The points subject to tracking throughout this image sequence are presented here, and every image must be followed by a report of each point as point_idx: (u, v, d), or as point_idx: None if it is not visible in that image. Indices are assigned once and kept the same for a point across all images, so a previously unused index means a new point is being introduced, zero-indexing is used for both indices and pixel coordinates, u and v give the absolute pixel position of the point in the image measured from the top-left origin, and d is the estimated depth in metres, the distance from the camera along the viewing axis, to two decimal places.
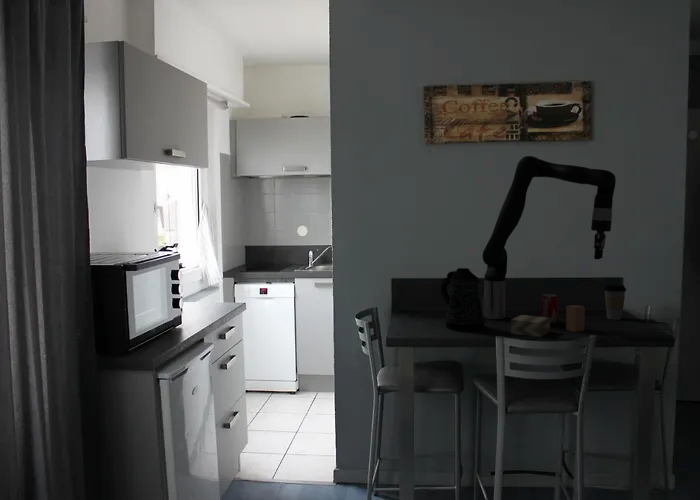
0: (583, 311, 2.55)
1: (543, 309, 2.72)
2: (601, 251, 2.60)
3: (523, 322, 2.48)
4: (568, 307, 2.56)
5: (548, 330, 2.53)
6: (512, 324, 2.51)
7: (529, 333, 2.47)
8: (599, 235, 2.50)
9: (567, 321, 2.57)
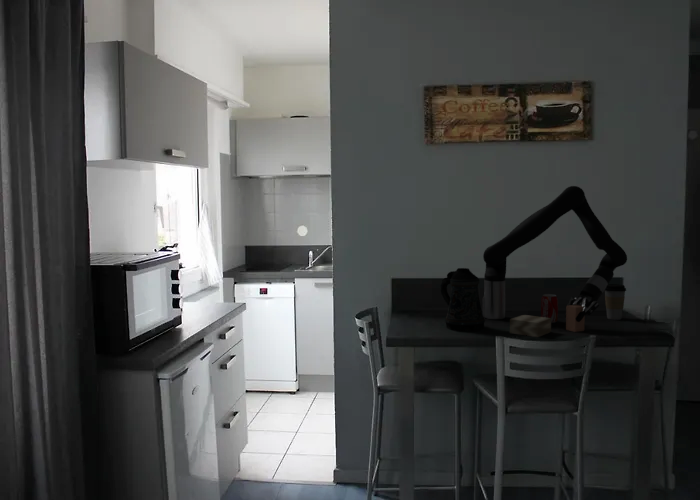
0: None
1: (543, 309, 2.72)
2: None
3: (521, 322, 2.49)
4: (568, 307, 2.56)
5: (549, 330, 2.52)
6: (511, 324, 2.52)
7: (527, 333, 2.48)
8: (597, 305, 2.52)
9: (567, 321, 2.57)
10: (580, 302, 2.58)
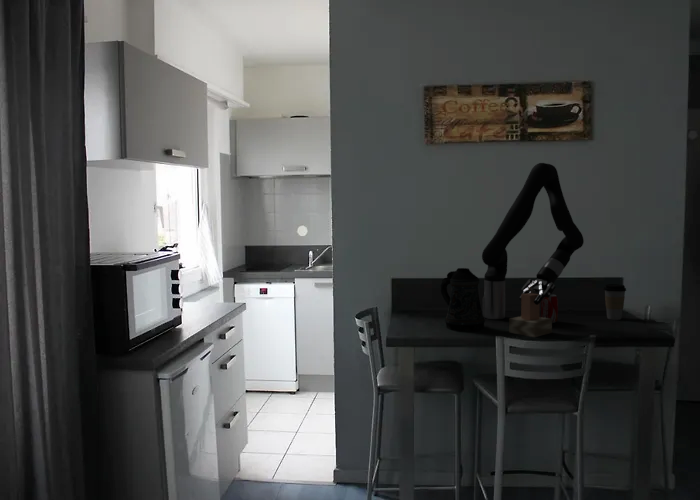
0: None
1: (543, 309, 2.72)
2: None
3: (520, 322, 2.50)
4: (523, 295, 2.52)
5: (549, 331, 2.51)
6: (510, 323, 2.53)
7: (525, 333, 2.48)
8: (554, 286, 2.48)
9: (522, 309, 2.53)
10: (534, 286, 2.54)
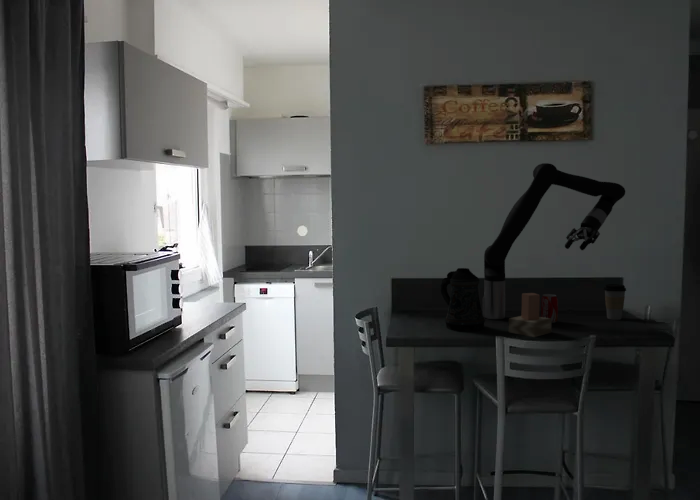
0: (538, 299, 2.51)
1: (543, 309, 2.72)
2: (571, 243, 2.72)
3: (519, 321, 2.50)
4: (523, 295, 2.53)
5: (548, 331, 2.52)
6: (510, 323, 2.53)
7: (524, 333, 2.49)
8: (598, 233, 2.64)
9: (522, 309, 2.54)
10: (579, 234, 2.69)
